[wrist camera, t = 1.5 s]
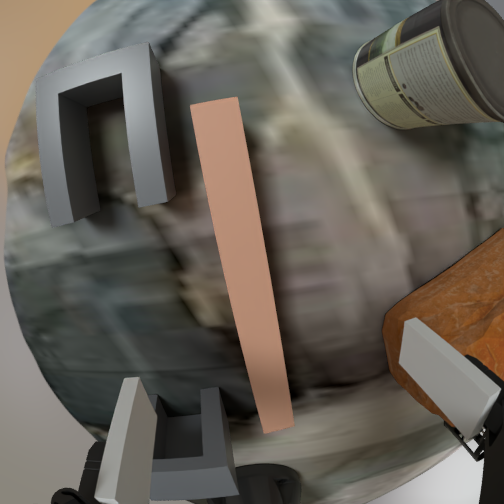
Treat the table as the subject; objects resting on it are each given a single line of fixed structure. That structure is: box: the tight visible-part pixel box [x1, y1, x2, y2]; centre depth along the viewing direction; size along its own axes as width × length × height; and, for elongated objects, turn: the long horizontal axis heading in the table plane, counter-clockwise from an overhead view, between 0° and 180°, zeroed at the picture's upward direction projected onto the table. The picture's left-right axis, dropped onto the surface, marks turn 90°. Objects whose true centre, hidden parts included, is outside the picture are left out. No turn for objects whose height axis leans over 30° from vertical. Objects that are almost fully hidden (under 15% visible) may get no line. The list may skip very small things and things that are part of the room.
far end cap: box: [147, 387, 239, 501], centre depth 26 cm, size 6×9×11 cm, turn 98°
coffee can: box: [353, 0, 504, 130], centre depth 18 cm, size 10×10×14 cm
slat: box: [190, 97, 295, 434], centre depth 24 cm, size 28×3×7 cm, turn 11°
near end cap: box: [36, 42, 176, 228], centre depth 20 cm, size 12×9×6 cm
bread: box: [382, 228, 504, 427], centre depth 26 cm, size 14×27×15 cm, turn 114°
